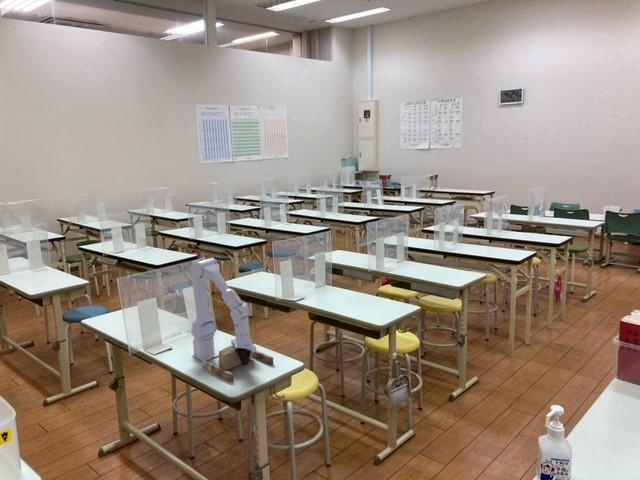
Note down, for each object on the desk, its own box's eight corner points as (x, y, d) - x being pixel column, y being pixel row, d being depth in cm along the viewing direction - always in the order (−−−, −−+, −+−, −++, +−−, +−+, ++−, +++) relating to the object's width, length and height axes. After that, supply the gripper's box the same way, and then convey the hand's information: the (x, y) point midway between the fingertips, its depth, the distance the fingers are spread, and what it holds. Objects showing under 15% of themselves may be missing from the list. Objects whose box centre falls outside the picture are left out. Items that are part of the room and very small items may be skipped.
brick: (224, 355, 200) (217, 350, 202) (224, 372, 202) (217, 367, 205) (255, 340, 211) (248, 336, 214) (255, 357, 214) (248, 353, 217)
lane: (203, 367, 208) (202, 360, 207) (244, 351, 223) (244, 345, 222) (231, 382, 194) (230, 374, 194) (273, 364, 209) (273, 357, 209)
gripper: (224, 332, 205) (226, 363, 207) (245, 339, 195) (248, 372, 197) (237, 327, 210) (240, 357, 212) (259, 334, 200) (261, 366, 202)
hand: (245, 364), depth 205 cm, fingers closed
